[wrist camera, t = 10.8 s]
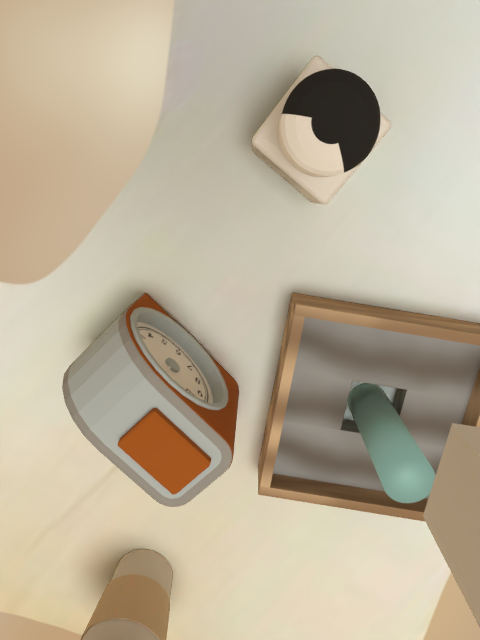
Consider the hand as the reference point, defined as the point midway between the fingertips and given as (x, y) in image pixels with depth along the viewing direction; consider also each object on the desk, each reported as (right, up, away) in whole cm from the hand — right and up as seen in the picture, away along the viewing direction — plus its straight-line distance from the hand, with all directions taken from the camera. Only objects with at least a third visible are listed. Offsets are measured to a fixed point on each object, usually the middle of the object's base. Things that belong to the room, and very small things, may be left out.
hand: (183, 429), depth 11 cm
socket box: (+15, -6, +37) cm, 40 cm away
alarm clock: (-6, -2, +37) cm, 38 cm away
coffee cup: (-10, -28, +44) cm, 53 cm away
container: (+8, +19, +31) cm, 37 cm away
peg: (+15, -6, +37) cm, 40 cm away
